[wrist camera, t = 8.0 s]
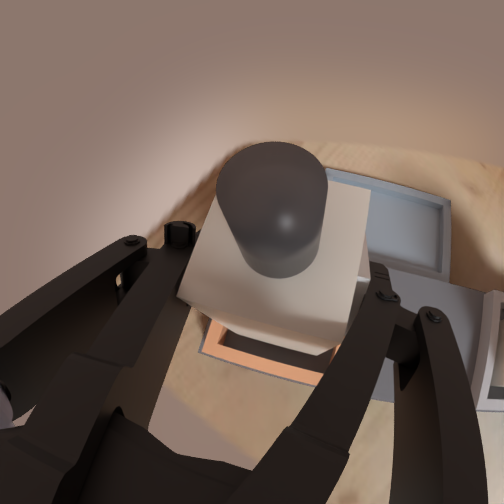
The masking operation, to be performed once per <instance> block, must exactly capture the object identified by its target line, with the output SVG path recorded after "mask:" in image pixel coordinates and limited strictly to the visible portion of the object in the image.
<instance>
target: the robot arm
mask: <svg viewBox="0 0 504 504" xmlns="http://www.w3.org/2000/svg"><path fill="white" fill-rule="evenodd" d="M200 232H201V230H199V231H198V232H196V226H195V225H194V224H193V223H190V222H186V221H173V222H169V223H167V224H165V225H164V245H163V246H162V247H161V249H155V248H147V240H146V239H145V238H144V237H141V236H137V235H129V236H127V237H123V238H121V239H119V240H117V241H115V242H114V243H112V244H110V245H109V246H107V247H105V248H103V249H102V250H100V251H98V252H97V253H95V254H93V255H92V256H90V257H88V258H87V259H85V260H83V261H82V262H80V263H78V264H77V265H76V266H74V267H72V268H70V269H69V270H67V271H66V272H64V273H62V274H61V275H59V276H58V277H56V278H55V279H53V280H51V281H50V282H48V283H47V284H45V285H44V286H42V287H41V288H39V289H38V290H36V291H35V292H33V293H32V294H30V295H29V296H27V297H26V298H24V299H23V300H21V301H20V302H19V303H17V304H16V305H14V306H13V307H11V308H10V309H9V310H7V311H6V312H4V313H3V314H2V315H0V504H326V502H327V500H328V498H329V497H330V495H331V493H332V491H333V489H334V487H335V485H336V484H337V482H338V480H339V478H340V476H341V474H342V472H343V470H344V468H345V466H346V464H347V461H348V459H349V455H350V454H349V453H348V451H349V449H350V446H351V444H352V442H353V440H354V437H355V435H356V433H357V431H358V428H359V426H360V424H361V421H362V419H363V417H364V414H365V412H366V409H367V407H368V404H369V402H370V399H371V396H372V394H373V391H374V388H375V386H376V383H377V380H378V377H379V374H380V372H381V369H382V366H383V363H384V360H385V357H386V358H388V359H390V360H393V361H394V363H393V375H394V450H393V467H392V480H391V490H390V499H389V504H488V490H487V478H486V468H485V460H484V453H483V446H482V440H481V434H480V429H479V423H478V418H477V414H476V409H475V405H474V400H473V396H472V392H471V388H470V384H469V381H468V377H467V374H466V370H465V367H464V363H463V360H462V357H461V353H460V350H459V347H458V344H457V341H456V338H455V335H454V332H453V330H452V327H451V324H450V321H449V319H448V317H447V316H446V315H445V314H444V313H443V312H442V311H441V310H440V309H438V308H434V307H430V306H424V307H421V308H420V309H419V311H418V313H417V314H416V313H414V312H411V311H409V310H407V309H405V308H403V307H402V306H400V303H401V298H400V297H399V295H398V294H397V293H396V292H394V291H393V290H392V285H391V281H390V276H389V271H388V269H387V268H386V267H385V266H384V265H383V264H380V263H376V262H372V261H369V258H368V249H367V241H366V233H365V237H364V243H363V249H362V255H361V260H360V266H359V271H358V276H357V281H356V286H355V291H354V296H353V301H352V305H351V310H350V314H349V318H348V323H347V327H346V331H345V335H344V336H345V338H344V340H343V341H342V343H341V345H340V347H339V349H338V350H337V352H336V354H335V356H334V357H333V359H332V361H331V363H330V364H329V366H328V368H327V369H326V371H325V373H324V374H323V376H322V378H321V379H320V381H319V383H318V384H317V386H316V387H315V389H314V391H313V392H312V394H311V395H310V397H309V398H308V400H307V402H306V403H305V405H304V406H303V408H302V409H301V411H300V412H299V414H298V415H297V417H296V418H295V420H294V421H293V422H292V424H291V425H290V426H289V427H288V426H287V427H286V428H285V429H284V430H283V431H282V433H281V434H280V435H279V437H278V438H277V439H276V441H275V442H274V443H273V445H272V446H271V447H270V449H269V450H268V451H267V453H266V454H265V455H264V457H263V458H262V459H261V460H260V462H259V463H258V464H257V465H256V467H255V468H254V469H253V471H251V470H247V469H244V468H241V467H238V466H235V465H232V464H229V463H226V462H223V461H215V460H208V459H202V458H196V457H190V456H184V455H180V454H177V453H175V452H173V451H172V450H171V449H169V448H168V447H166V446H165V445H164V444H163V443H162V442H160V441H159V440H158V439H157V438H155V437H154V436H153V435H152V434H151V433H149V432H148V426H149V422H150V419H151V416H152V413H153V410H154V407H155V404H156V402H157V399H158V395H159V393H160V390H161V387H162V385H163V382H164V379H165V376H166V373H167V371H168V368H169V365H170V362H171V360H172V357H173V354H174V351H175V349H176V346H177V343H178V341H179V338H180V335H181V333H182V330H183V327H184V325H185V322H186V320H187V317H188V314H189V312H190V309H191V307H192V306H190V305H189V304H187V303H186V302H184V301H183V300H181V299H179V298H178V297H176V295H177V293H178V290H179V287H180V284H181V282H182V279H183V276H184V274H185V271H186V268H187V266H188V263H189V260H190V258H191V255H192V252H193V250H194V247H195V245H196V242H197V240H198V237H199V234H200ZM119 274H120V278H121V284H120V285H119V286H117V284H116V277H117V276H118V275H119ZM35 405H36V406H35ZM34 406H35V408H34V409H33V411H32V413H31V414H30V416H29V418H28V420H27V421H26V423H25V425H23V426H17V427H15V425H14V424H13V422H12V421H14V420H16V419H17V418H19V417H21V416H22V415H24V414H25V413H26V412H28V411H29V410H30V409H32V408H33V407H34Z"/></svg>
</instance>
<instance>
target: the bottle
mask: <svg viewBox="0 0 504 504" xmlns="http://www.w3.org/2000/svg"><path fill="white" fill-rule="evenodd" d="M370 194H371V190H369V189H365V188H361V187H356V186H352V185H348V184H343V183H339V182H334V181H330V180H327V175H326V172H325V170H324V168H323V166H322V164H321V163H320V162H319V160H318V159H317V158H316V157H315V156H314V155H312V154H311V153H310V152H308V151H307V150H305V149H304V148H301V147H299V146H297V145H294V144H290V143H285V142H264V143H259V144H255V145H252V146H250V147H247V148H245V149H243V150H241V151H240V152H238V153H237V154H235V155H234V156H233V157H232V158H231V159H230V160H229V161H228V162H227V163H226V164H225V165H224V167H223V168H222V170H221V172H220V174H219V177H218V179H217V184H216V195H215V197H214V200H213V202H212V205H211V207H210V209H209V212H208V214H207V217H206V219H205V222H204V224H203V227H202V229H201V232H200V234H199V237H198V240H197V242H196V245H195V247H194V250H193V252H192V255H191V258H190V260H189V263H188V266H187V268H186V271H185V274H184V276H183V279H182V282H181V284H180V287H179V290H178V293H177V295H176V297H178V298H179V299H181V300H183V301H184V302H186V303H187V304H189V305H190V306H192V307H194V308H195V309H197V310H198V311H200V312H202V313H203V314H205V315H206V316H208V317H210V318H211V319H213V320H215V321H216V322H218V323H220V324H221V325H223V326H225V327H226V328H228V329H230V330H231V331H233V332H235V333H236V334H239V335H242V336H246V337H249V338H252V339H256V340H259V341H263V342H266V343H270V344H273V345H277V346H281V347H284V348H288V349H292V350H296V351H300V352H304V353H308V354H312V355H316V356H317V355H319V354H321V353H323V352H325V351H327V350H329V349H331V348H333V347H335V346H337V345H339V344H341V343H342V341H343V339H344V335H345V331H346V327H347V323H348V318H349V314H350V310H351V305H352V301H353V296H354V291H355V286H356V281H357V276H358V271H359V266H360V260H361V255H362V249H363V243H364V237H365V231H366V224H367V217H368V210H369V202H370Z"/></svg>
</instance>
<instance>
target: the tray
mask: <svg viewBox="0 0 504 504" xmlns="http://www.w3.org/2000/svg"><path fill="white" fill-rule="evenodd" d="M325 172H326V175H327V180H330V181H334V182H339V183H343V184H348V185H352V186H356V187H361V188H365V189H369V190H371V194H370V202H369V210H368V217H367V224H366V231H365V233H366V241H367V249H368V257H369V261H372V262H376V263H380V264H383V265H384V266H385V267H386V268H391V269H395V270H399V271H403V272H407V273H411V274H415V275H419V276H423V277H427V278H431V279H435V280H439V281H443V282H447V283H449V278H450V261H451V200H448V199H445V198H442V197H439V196H435V195H432V194H429V193H426V192H422V191H419V190H415V189H412V188H408V187H404V186H401V185H397V184H393V183H390V182H386V181H382V180H378V179H374V178H370V177H366V176H361V175H357V174H353V173H348V172H344V171H339V170H334V169H330V168H326V170H325Z"/></svg>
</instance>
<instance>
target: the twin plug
mask: <svg viewBox="0 0 504 504" xmlns="http://www.w3.org/2000/svg"><path fill="white" fill-rule="evenodd" d="M490 386H498V387H504V319H503V320H500V322H499V332H498V341H497V348H496V355H495V361H494V367H493V373H492V378H491V383H490Z"/></svg>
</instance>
